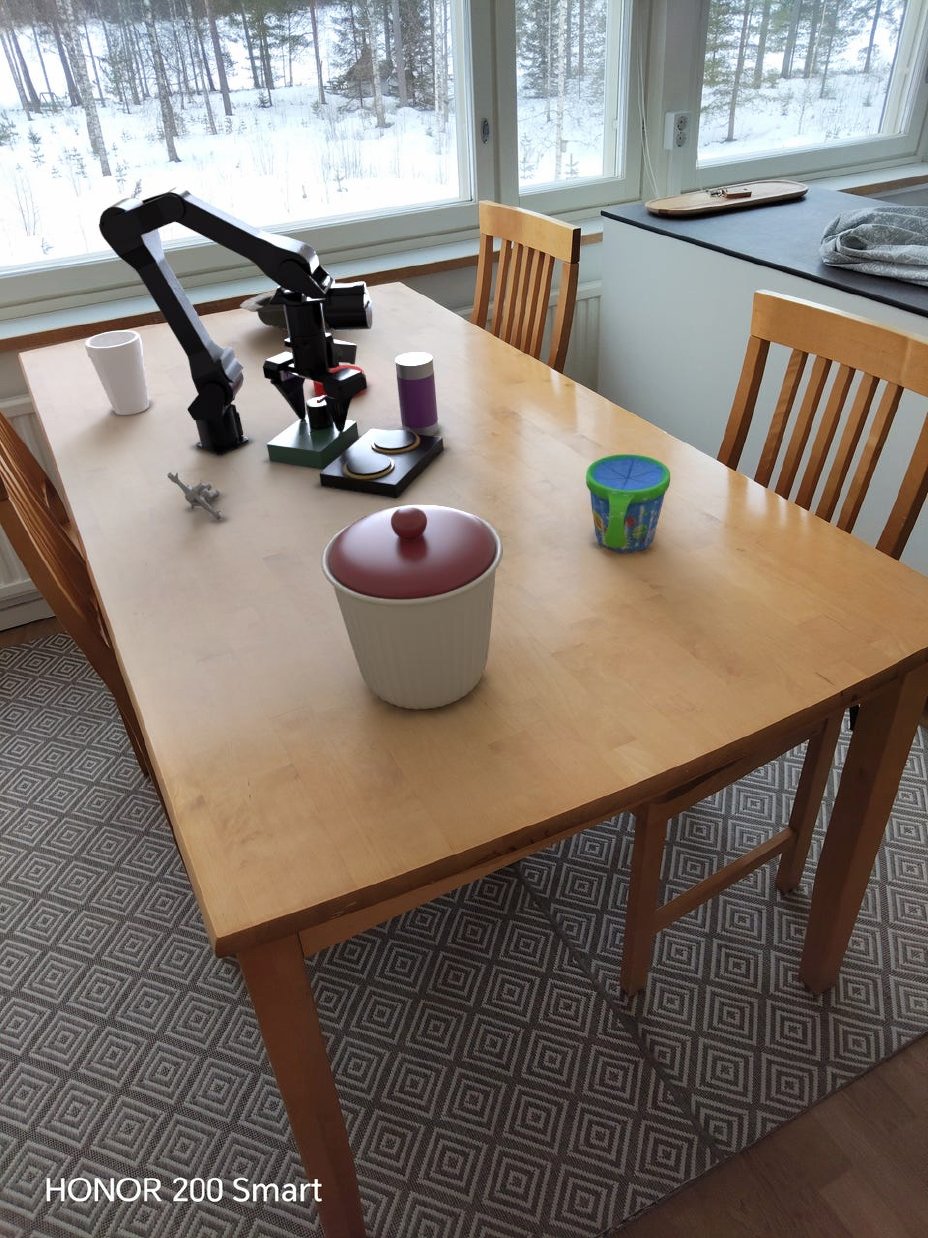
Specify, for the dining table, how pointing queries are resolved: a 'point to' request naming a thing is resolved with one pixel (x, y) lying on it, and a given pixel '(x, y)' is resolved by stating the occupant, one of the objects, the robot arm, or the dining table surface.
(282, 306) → the stone bowl
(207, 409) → the robot arm
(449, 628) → the canister
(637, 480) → the snack cup
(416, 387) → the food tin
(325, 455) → the control box
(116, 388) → the foam cup
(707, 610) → the dining table surface
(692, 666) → the dining table surface
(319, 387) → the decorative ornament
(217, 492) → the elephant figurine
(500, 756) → the dining table surface
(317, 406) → the hob knob
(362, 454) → the hob
